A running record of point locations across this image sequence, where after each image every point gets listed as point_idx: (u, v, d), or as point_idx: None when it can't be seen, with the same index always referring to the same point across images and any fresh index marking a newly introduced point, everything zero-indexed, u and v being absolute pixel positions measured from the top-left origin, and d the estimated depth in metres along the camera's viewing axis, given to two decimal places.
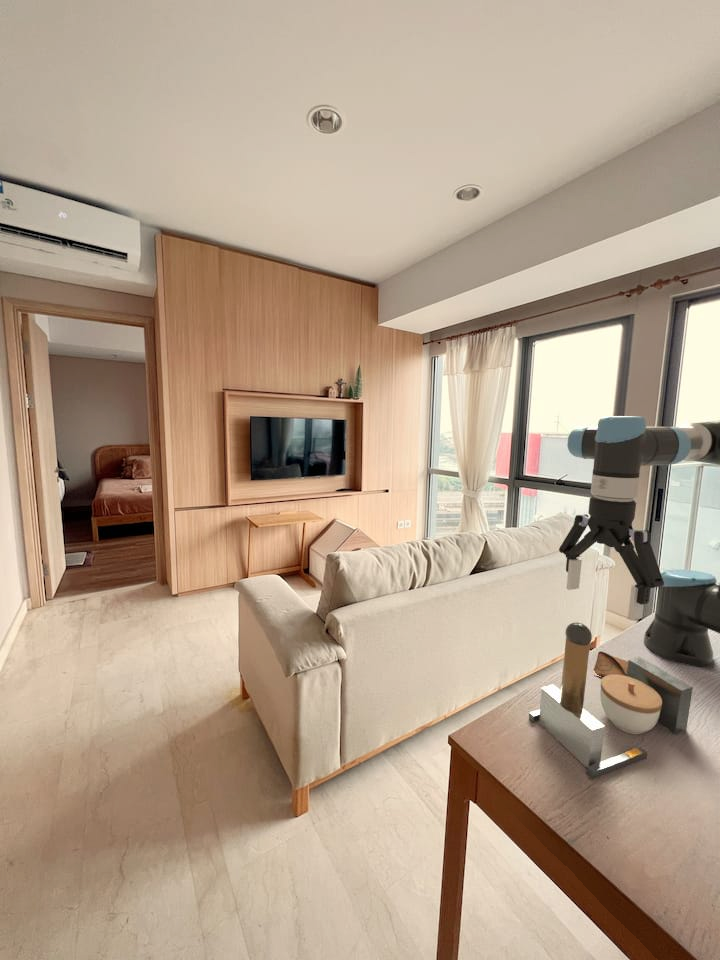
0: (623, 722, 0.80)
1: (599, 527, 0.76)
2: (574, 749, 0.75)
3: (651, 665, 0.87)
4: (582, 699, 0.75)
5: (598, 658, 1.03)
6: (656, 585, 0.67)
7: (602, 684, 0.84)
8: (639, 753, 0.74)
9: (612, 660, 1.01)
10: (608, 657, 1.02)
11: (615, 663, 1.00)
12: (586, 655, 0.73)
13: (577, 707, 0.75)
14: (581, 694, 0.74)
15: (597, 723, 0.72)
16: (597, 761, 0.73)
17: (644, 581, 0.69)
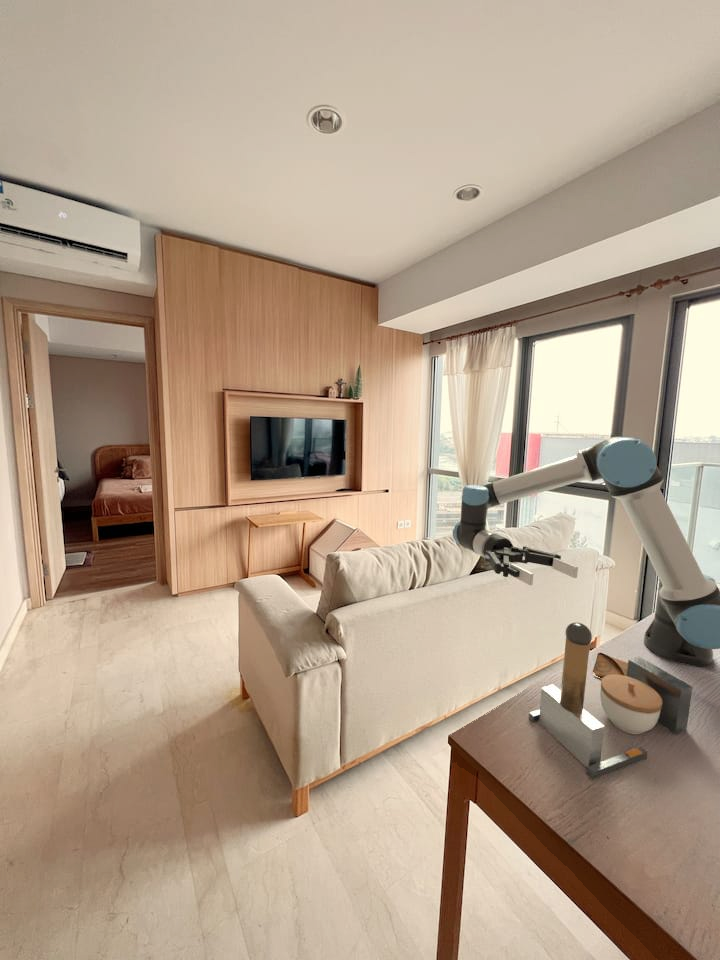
0: (623, 722, 0.80)
1: None
2: (574, 749, 0.75)
3: (651, 665, 0.87)
4: (582, 699, 0.75)
5: (597, 659, 1.03)
6: (496, 571, 0.94)
7: (602, 684, 0.84)
8: (639, 753, 0.74)
9: (611, 661, 1.00)
10: (607, 658, 1.01)
11: (614, 664, 0.99)
12: (586, 655, 0.73)
13: (577, 707, 0.75)
14: (581, 694, 0.74)
15: (597, 723, 0.72)
16: (597, 761, 0.73)
17: None
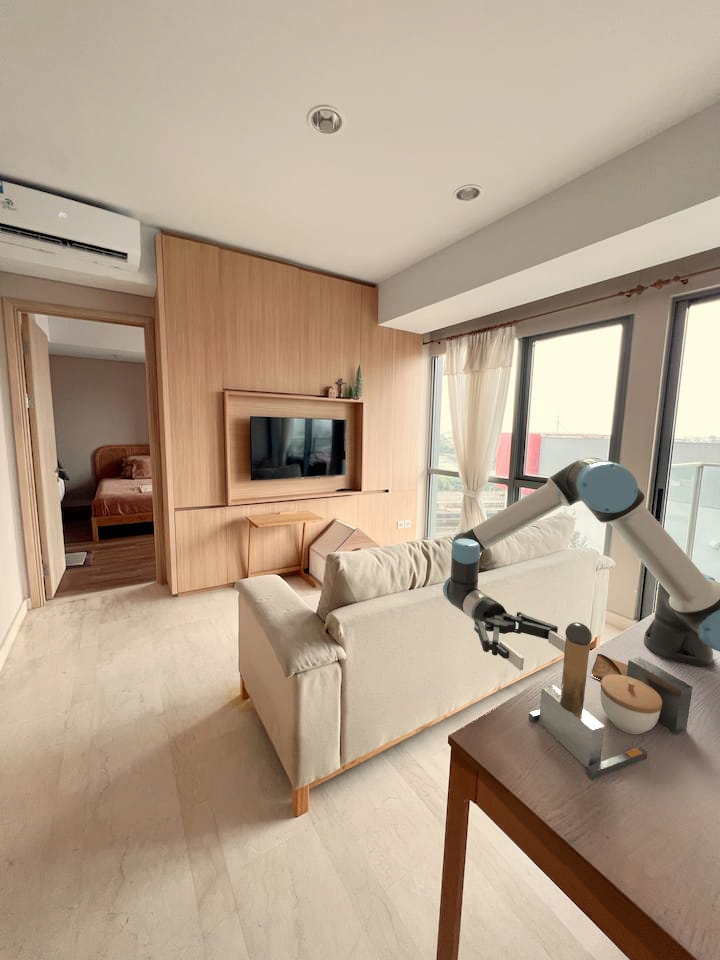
0: (623, 722, 0.80)
1: None
2: (574, 749, 0.75)
3: (651, 665, 0.87)
4: (582, 699, 0.75)
5: (596, 660, 1.02)
6: (484, 648, 0.85)
7: (602, 684, 0.84)
8: (639, 753, 0.74)
9: (610, 662, 1.00)
10: (606, 659, 1.01)
11: (613, 666, 0.99)
12: (586, 655, 0.73)
13: (577, 707, 0.75)
14: (581, 694, 0.74)
15: (597, 723, 0.72)
16: (597, 761, 0.73)
17: None
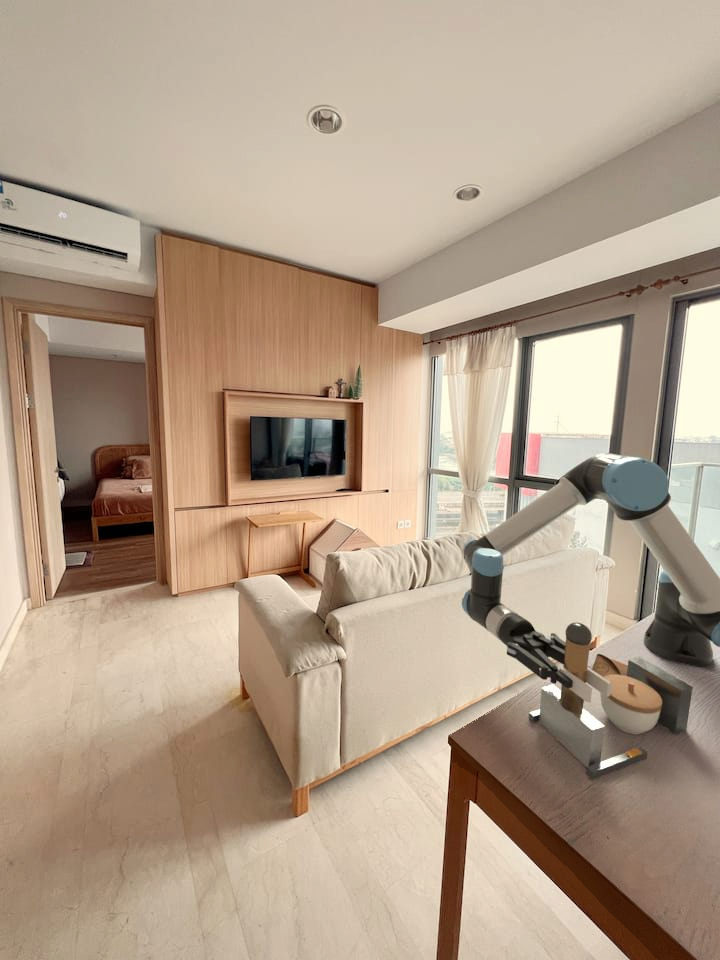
0: (623, 722, 0.80)
1: None
2: (574, 749, 0.75)
3: (651, 665, 0.87)
4: (582, 699, 0.75)
5: (596, 660, 1.02)
6: (541, 676, 0.76)
7: None
8: (639, 753, 0.74)
9: (610, 663, 1.00)
10: (606, 660, 1.01)
11: (612, 666, 0.99)
12: (586, 655, 0.73)
13: (577, 707, 0.75)
14: None
15: (597, 723, 0.72)
16: (597, 761, 0.73)
17: None
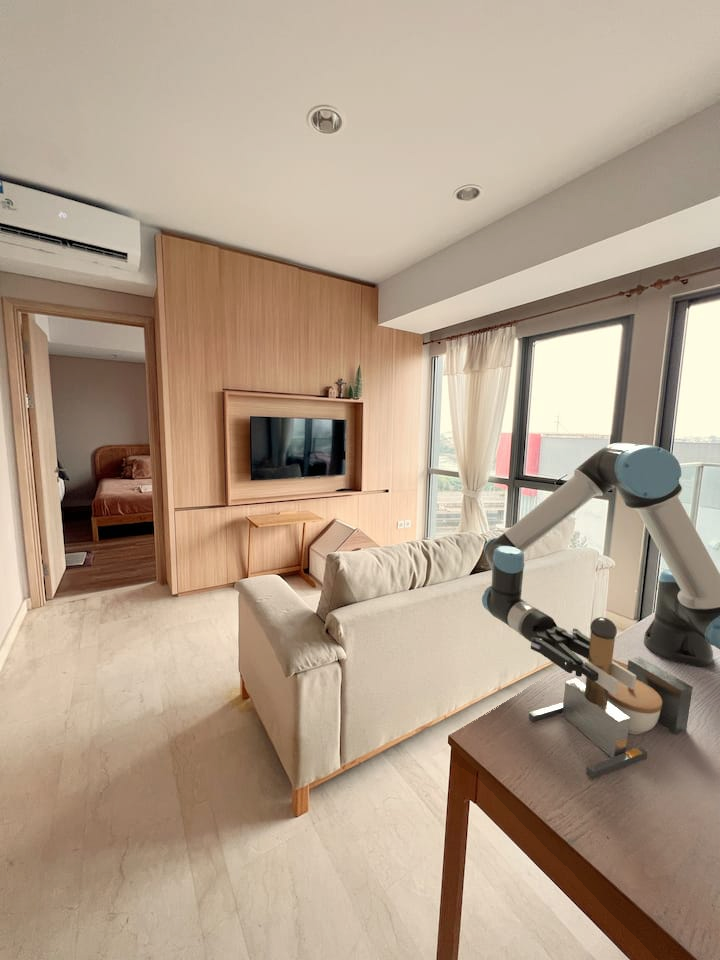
0: None
1: None
2: (599, 740, 0.77)
3: (651, 665, 0.87)
4: (607, 692, 0.77)
5: None
6: (567, 669, 0.78)
7: None
8: (639, 753, 0.74)
9: None
10: None
11: None
12: (611, 649, 0.75)
13: (602, 699, 0.77)
14: None
15: (622, 715, 0.75)
16: (622, 752, 0.75)
17: None
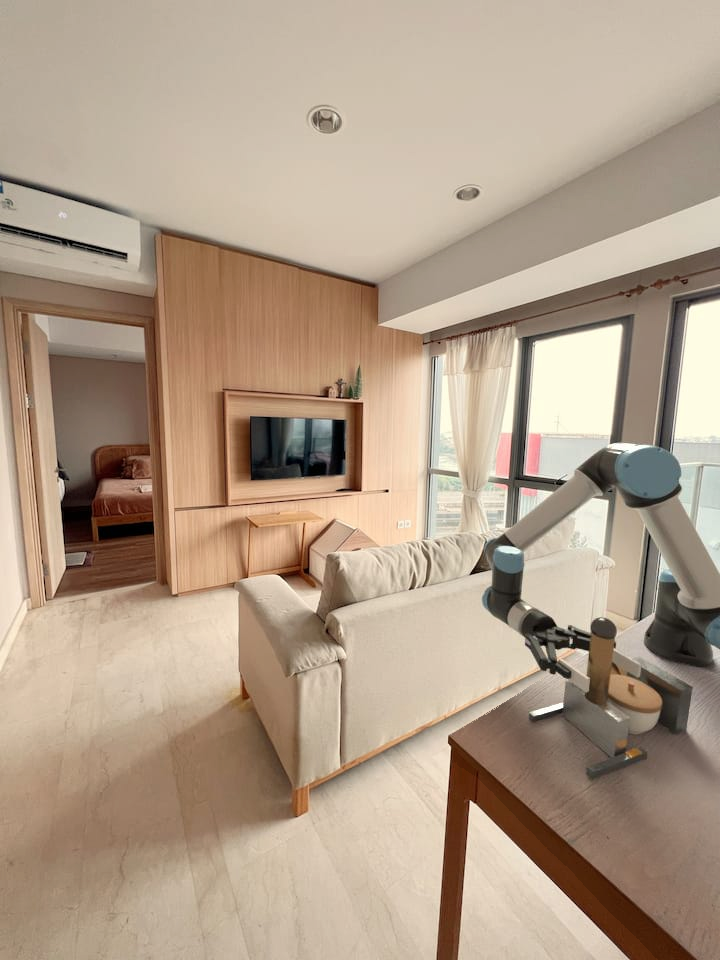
0: None
1: None
2: (599, 740, 0.77)
3: (651, 665, 0.87)
4: (607, 692, 0.77)
5: None
6: (541, 667, 0.79)
7: None
8: (639, 753, 0.74)
9: None
10: None
11: (613, 665, 0.99)
12: (611, 649, 0.75)
13: (602, 699, 0.77)
14: (606, 687, 0.77)
15: (622, 715, 0.75)
16: (622, 752, 0.75)
17: None
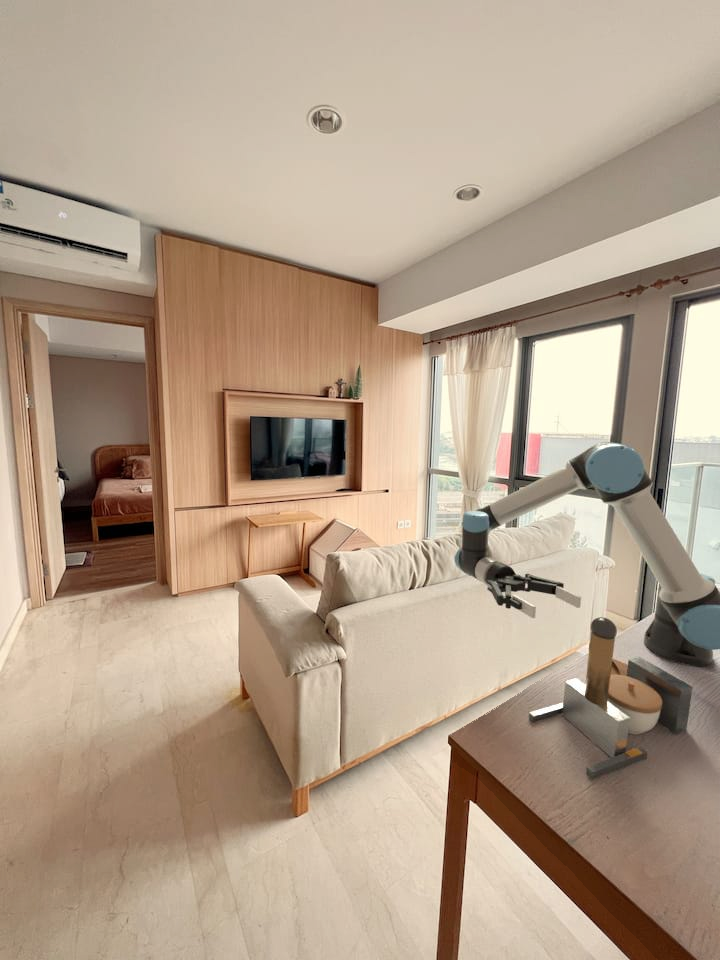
0: None
1: None
2: (599, 740, 0.77)
3: (651, 665, 0.87)
4: (607, 692, 0.77)
5: None
6: (498, 602, 0.94)
7: None
8: (639, 753, 0.74)
9: None
10: None
11: (613, 665, 0.99)
12: (611, 649, 0.75)
13: (602, 699, 0.77)
14: (606, 687, 0.77)
15: (622, 715, 0.75)
16: (622, 752, 0.75)
17: None
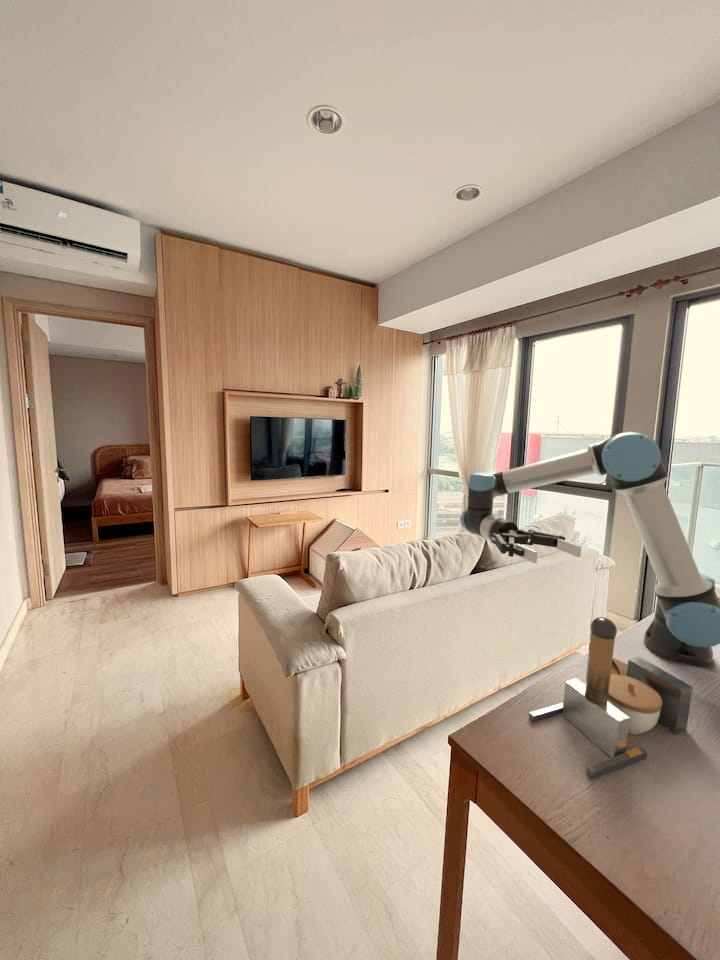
0: None
1: None
2: (599, 740, 0.77)
3: (651, 665, 0.87)
4: (607, 692, 0.77)
5: None
6: (501, 551, 0.98)
7: None
8: (639, 753, 0.74)
9: None
10: None
11: (613, 664, 0.99)
12: (611, 649, 0.75)
13: (602, 699, 0.77)
14: (606, 687, 0.77)
15: (622, 715, 0.75)
16: (622, 752, 0.75)
17: None
